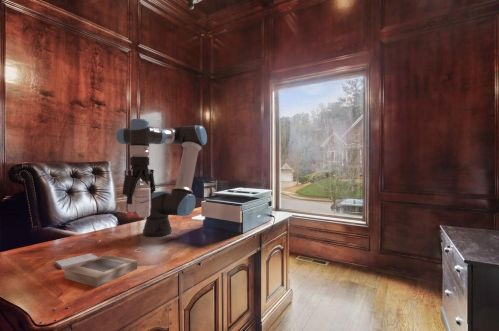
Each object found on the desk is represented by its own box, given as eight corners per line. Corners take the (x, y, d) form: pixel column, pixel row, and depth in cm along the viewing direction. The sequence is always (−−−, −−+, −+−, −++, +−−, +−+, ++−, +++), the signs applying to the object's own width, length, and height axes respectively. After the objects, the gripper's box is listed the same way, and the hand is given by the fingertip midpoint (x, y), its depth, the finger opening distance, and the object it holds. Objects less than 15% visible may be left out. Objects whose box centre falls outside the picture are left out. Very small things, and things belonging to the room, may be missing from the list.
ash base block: (106, 262, 104) (106, 254, 104) (137, 268, 98) (137, 260, 98) (64, 278, 89) (64, 269, 89) (97, 287, 83) (97, 277, 83)
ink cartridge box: (127, 217, 108) (127, 181, 108) (129, 215, 113) (129, 181, 113) (149, 216, 110) (149, 181, 110) (150, 214, 115) (150, 180, 115)
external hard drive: (55, 265, 102) (90, 256, 111) (61, 270, 97) (98, 261, 106) (55, 261, 102) (90, 252, 111) (61, 266, 97) (98, 256, 106)
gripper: (125, 155, 100) (125, 215, 100) (164, 156, 119) (164, 206, 120) (111, 155, 103) (111, 213, 103) (151, 156, 122) (151, 205, 123)
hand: (139, 209), depth 111 cm, fingers closed on ink cartridge box, 8 cm apart
